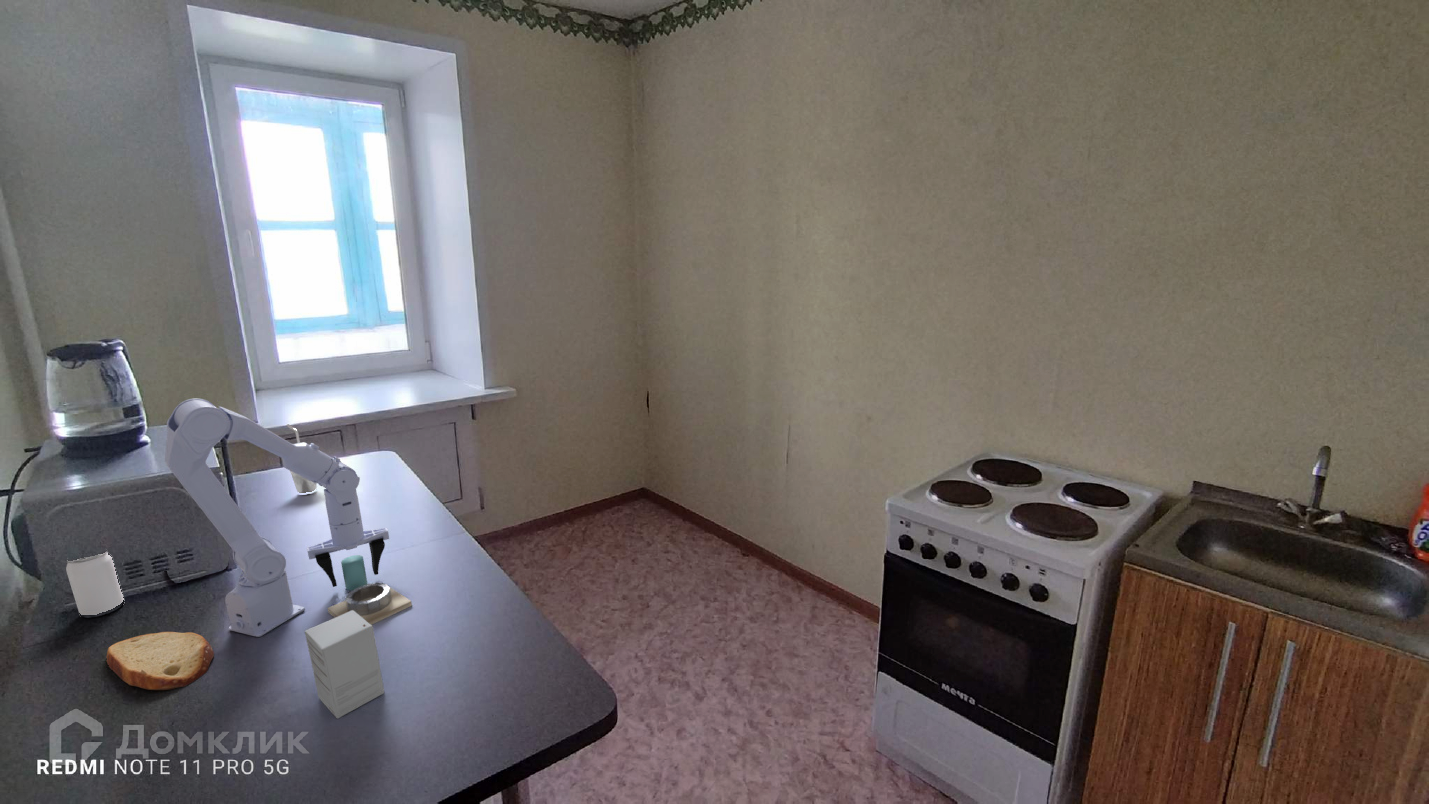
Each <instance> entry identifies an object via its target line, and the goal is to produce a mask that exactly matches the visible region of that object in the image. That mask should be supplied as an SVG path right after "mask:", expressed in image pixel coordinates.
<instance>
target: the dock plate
mask: <svg viewBox="0 0 1429 804" xmlns="http://www.w3.org/2000/svg"><path fill="white" fill-rule="evenodd" d="M389 588H390V592H391V598H392V600H391V602H390V604H389V605H388V606H387V607H385V608H384V609H382V610H380V611H378V612H376V613H373V614H370V615H363V616H361V617H362V618H363V619H364V620H366V621H367V622H368V623H369V624H371V625H372V626H373V625H374V624H377V623H379V622H380V621H382V620H385V619H386V618H389V617H391V616H393V615H395V614H398V613H399V612H401V611H404V610H405V609H407V608H409V607H412V606H413V605H412V604H413V603H412V601H411V600H410V599H409V598H407V597H406V596H404V595H402V594H401V593H399V591H398V592H397V590H396V589H393V588H392V587H391V586H389ZM373 598H376V597H370V598H367V599H364V600H362V601H368V600H371V599H373ZM327 612H328V614H329V615H331V616H332V617H333V618H336V617H338V616H340V615H342V614H345V613H347V612H348V611H347V606H346V600H343V601H340V602H338V603H336V604H333V605H331V606H328V607H327Z"/></svg>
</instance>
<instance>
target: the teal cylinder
mask: <svg viewBox="0 0 1429 804" xmlns="http://www.w3.org/2000/svg"><path fill="white" fill-rule="evenodd" d="M340 563H341V570H342V573H343V580H344V585H345V590H347V591H348V592H349V591H350V592H351V591H353V590H354V589H356V588H358V587H361V586H364V585H367V584H368V577H367V572H366V567H365V560H364V556H362V555H360V554H359V555H358V554H355V555H350V556H347V557H345V558H343V559H342V560H341V562H340Z"/></svg>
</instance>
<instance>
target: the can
mask: <svg viewBox="0 0 1429 804" xmlns="http://www.w3.org/2000/svg"><path fill="white" fill-rule="evenodd" d="M108 553H109V552H108V550H107V551H106V552H105V553H103V554H98V555H95V556H90V557H84V558H80V559H77V560H73V561H68V560H67V559H66V562H67V564H66V567H65V568H66V569H65V570H66V574H67V577H68V581H69V584H70V587H71V591H72V593H73V597H74V600H75V604H76V607H77V610H78V614H79V613H80V614H81V615H97V614H99V613H102V612H106V611H108V610H111V609H113V608H115V607H116V606H118V605H120V604H121V603H122V602H123V600H124V601H125V597H124V593H123V591H122V592H121V590H122V588H121V589H120V586H121V584H120V585H119V583H120V582H119V583H118V579H119V578H118V579H117V576H118V574H117V575H116V572H117V570H116V571H115V569H116V566H115V567H114V565H115V562H114V559H113V560H112V558H113V556H112V555H111V554H110V555H111V556H112V557H111V556H110V555H108ZM113 562H114V563H113ZM122 593H123V594H122ZM123 597H124V598H123ZM80 614H79V615H80Z"/></svg>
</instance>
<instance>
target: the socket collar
mask: <svg viewBox="0 0 1429 804" xmlns="http://www.w3.org/2000/svg"><path fill="white" fill-rule="evenodd" d="M389 587H390V586H389V585H388V584H387V583H382V582H374V583H373V582H372V583H367V585H364V586H361V587H358V588H356V589H354V590H353V591H350V592H349V591H348V594H347V595H346V597H345V598H344V599H345V600H346V606H347V611H348V612H349V611H351V610H353V611H355V612H356V613H357V614H358V615H360V616H363V615H370V614H373V613H376V612H378V611H380V610H382V609H384V608H385V607H387V606H388V605H389V604H390V602H391V600H392V598H391V592H390V588H391V587H390V588H389ZM370 597H376V598H373V599H371V600H368V601H362V600H364V599H367V598H370ZM345 600H344V601H345Z"/></svg>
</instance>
